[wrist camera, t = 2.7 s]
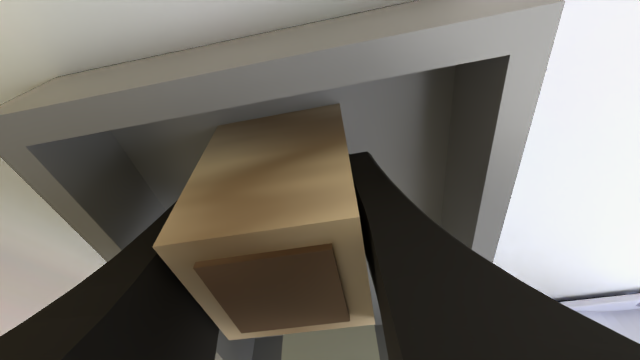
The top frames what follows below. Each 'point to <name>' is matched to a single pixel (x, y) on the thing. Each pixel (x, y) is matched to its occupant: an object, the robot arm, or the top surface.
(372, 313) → the label block
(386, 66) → the tray
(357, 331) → the plain block
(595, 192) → the top surface
